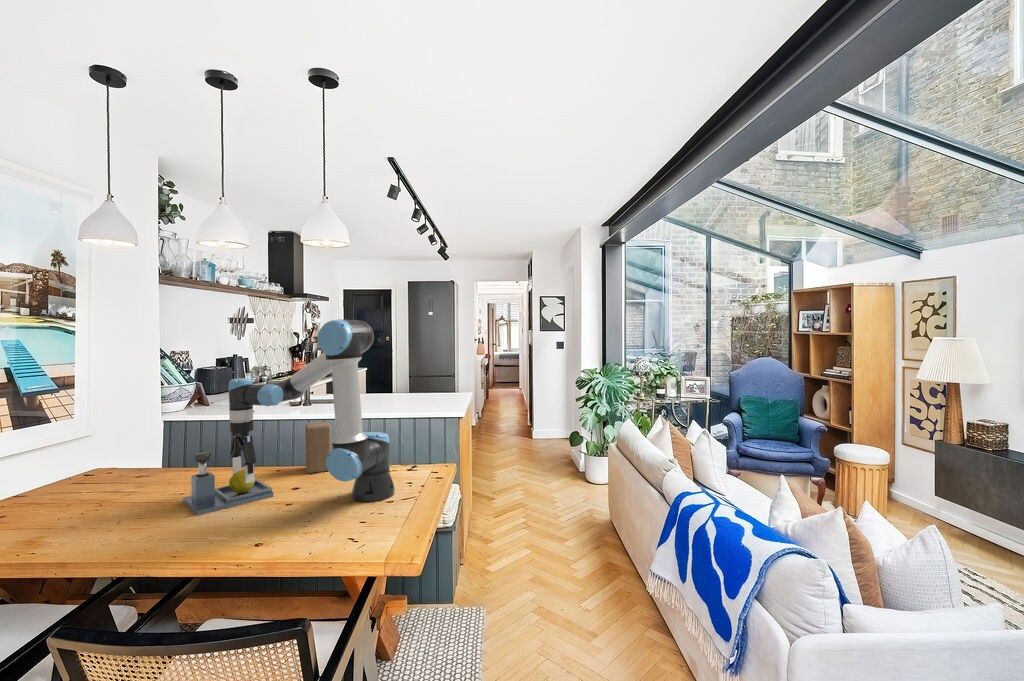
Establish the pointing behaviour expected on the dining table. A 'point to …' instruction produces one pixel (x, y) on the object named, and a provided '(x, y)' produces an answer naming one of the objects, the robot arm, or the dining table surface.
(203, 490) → the base
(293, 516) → the dining table surface
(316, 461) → the wooden block
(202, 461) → the ball
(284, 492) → the dining table surface
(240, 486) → the lemon
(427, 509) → the dining table surface
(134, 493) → the dining table surface
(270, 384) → the robot arm
